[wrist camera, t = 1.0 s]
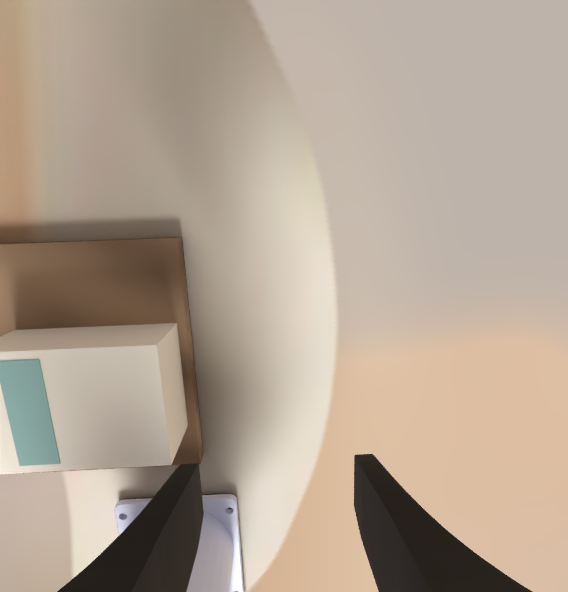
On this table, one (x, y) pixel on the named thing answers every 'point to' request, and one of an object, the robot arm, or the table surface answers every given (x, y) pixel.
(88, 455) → the carton
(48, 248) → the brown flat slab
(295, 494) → the table surface
